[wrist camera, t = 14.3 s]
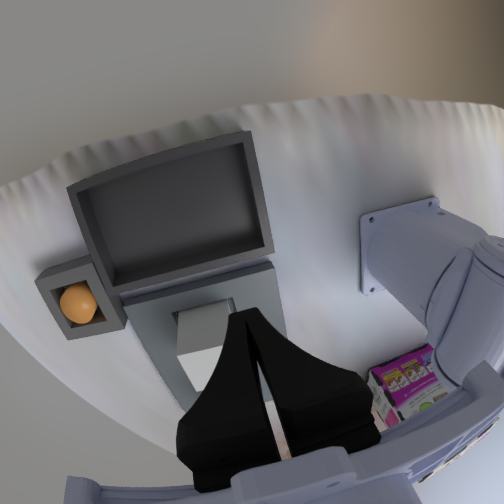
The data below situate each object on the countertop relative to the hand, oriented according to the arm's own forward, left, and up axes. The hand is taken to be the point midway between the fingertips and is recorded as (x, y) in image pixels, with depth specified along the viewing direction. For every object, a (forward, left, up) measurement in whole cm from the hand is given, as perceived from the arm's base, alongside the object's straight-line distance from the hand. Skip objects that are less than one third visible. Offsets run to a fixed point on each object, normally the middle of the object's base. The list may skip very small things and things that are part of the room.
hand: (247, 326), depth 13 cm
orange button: (+13, +1, -9) cm, 15 cm away
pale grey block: (+3, +6, -10) cm, 12 cm away
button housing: (+13, +1, -9) cm, 16 cm away
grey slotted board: (+3, +10, -9) cm, 14 cm away
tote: (+3, -4, -9) cm, 11 cm away
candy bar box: (-18, +23, -10) cm, 31 cm away
